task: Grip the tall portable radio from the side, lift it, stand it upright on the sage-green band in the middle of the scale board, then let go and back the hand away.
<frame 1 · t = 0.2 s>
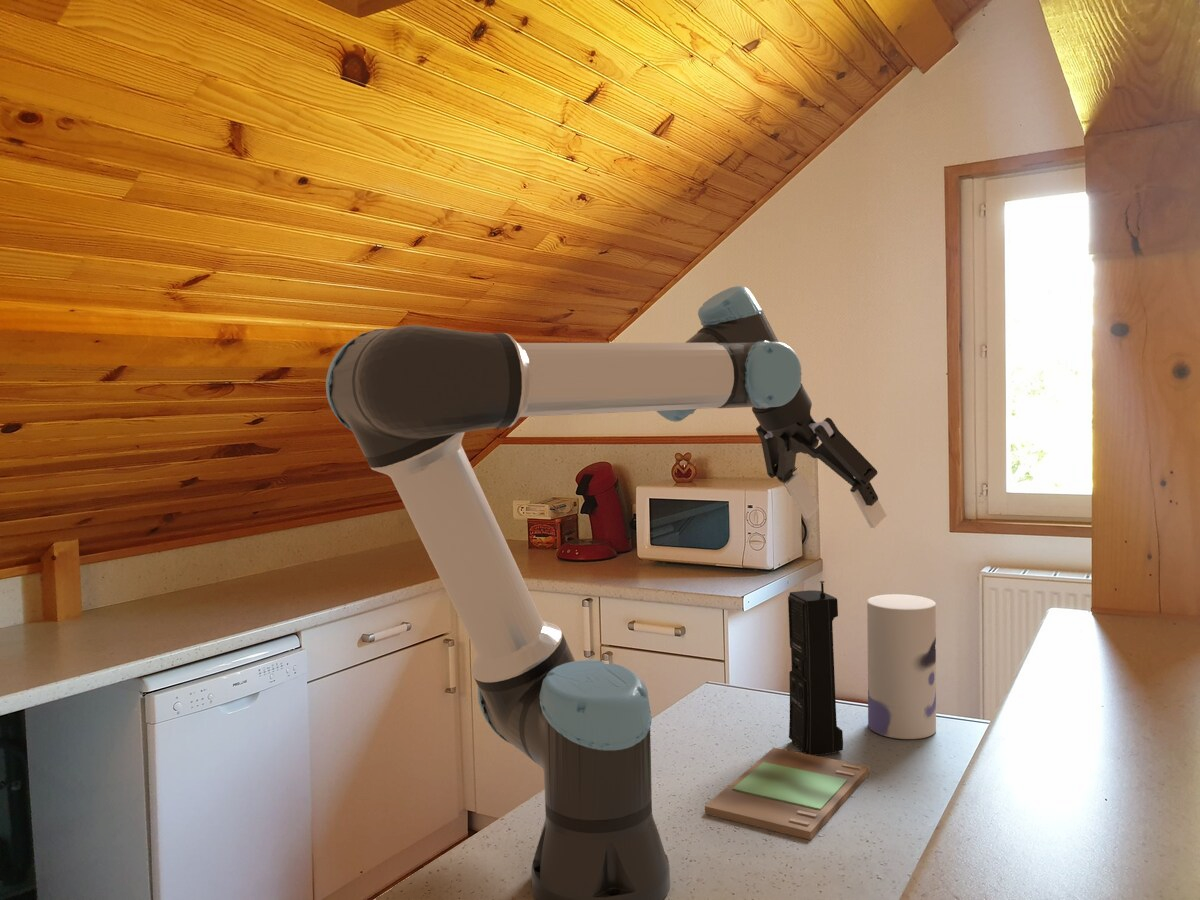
hand: (843, 517, 137), 35 cm above the countertop, tool tilted 35°, fingers open, 13 cm apart
container: (901, 729, 150), on the countertop
scale board: (790, 792, 128), on the countertop
portable radio: (814, 747, 144), on the countertop
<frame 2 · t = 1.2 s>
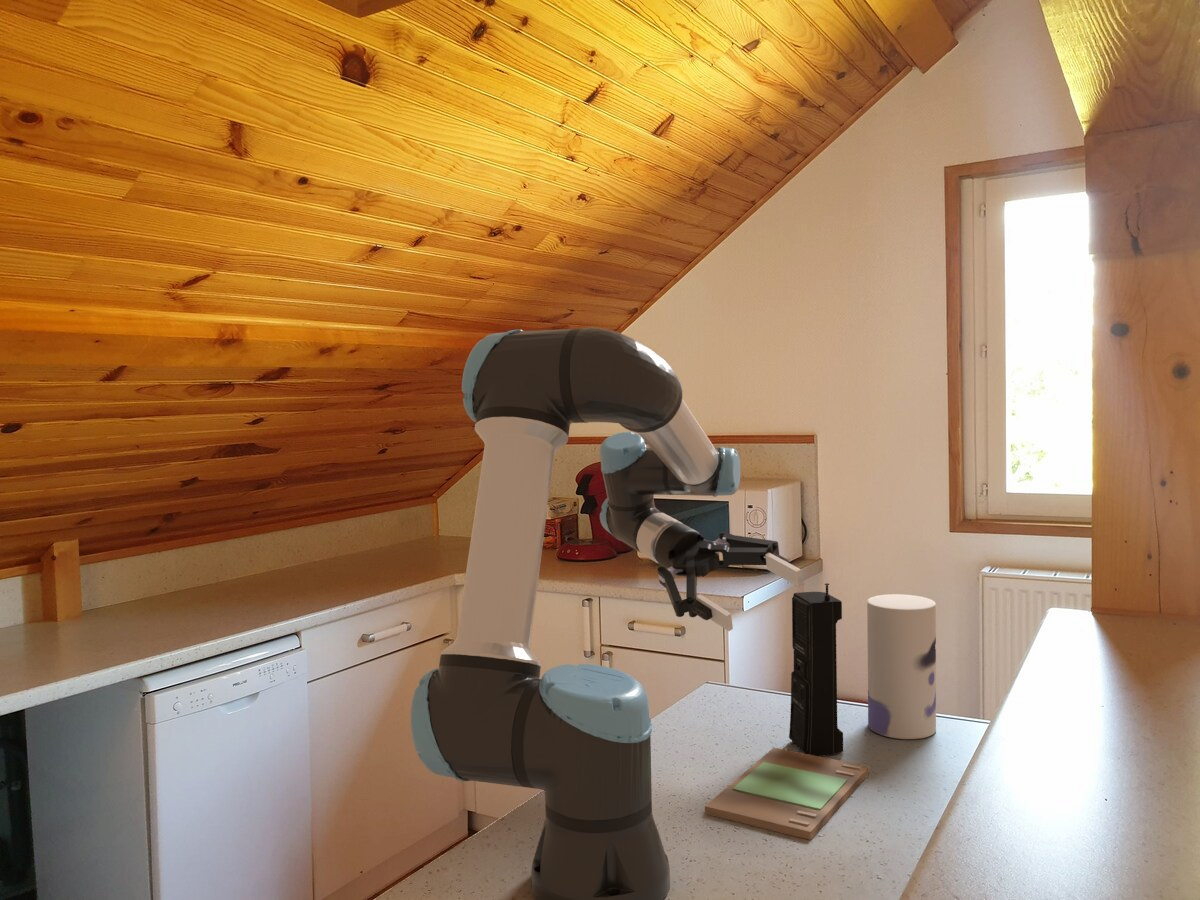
hand: (765, 599, 138), 23 cm above the countertop, tool horizontal, fingers open, 13 cm apart
nothing on the countertop moved.
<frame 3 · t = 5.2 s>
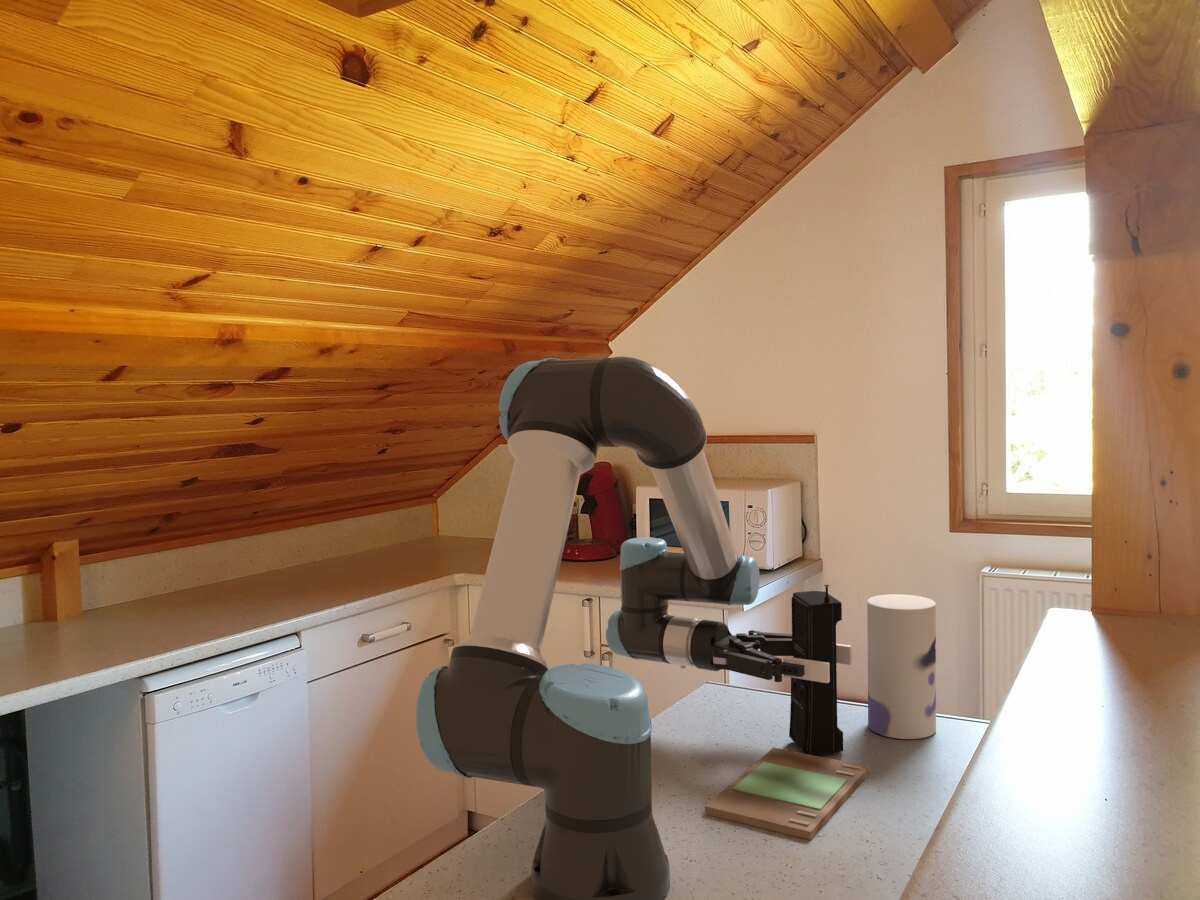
hand: (840, 663, 139), 14 cm above the countertop, tool horizontal, fingers open, 9 cm apart
portable radio: (814, 746, 144), on the countertop, touching gripper
everything else where it was.
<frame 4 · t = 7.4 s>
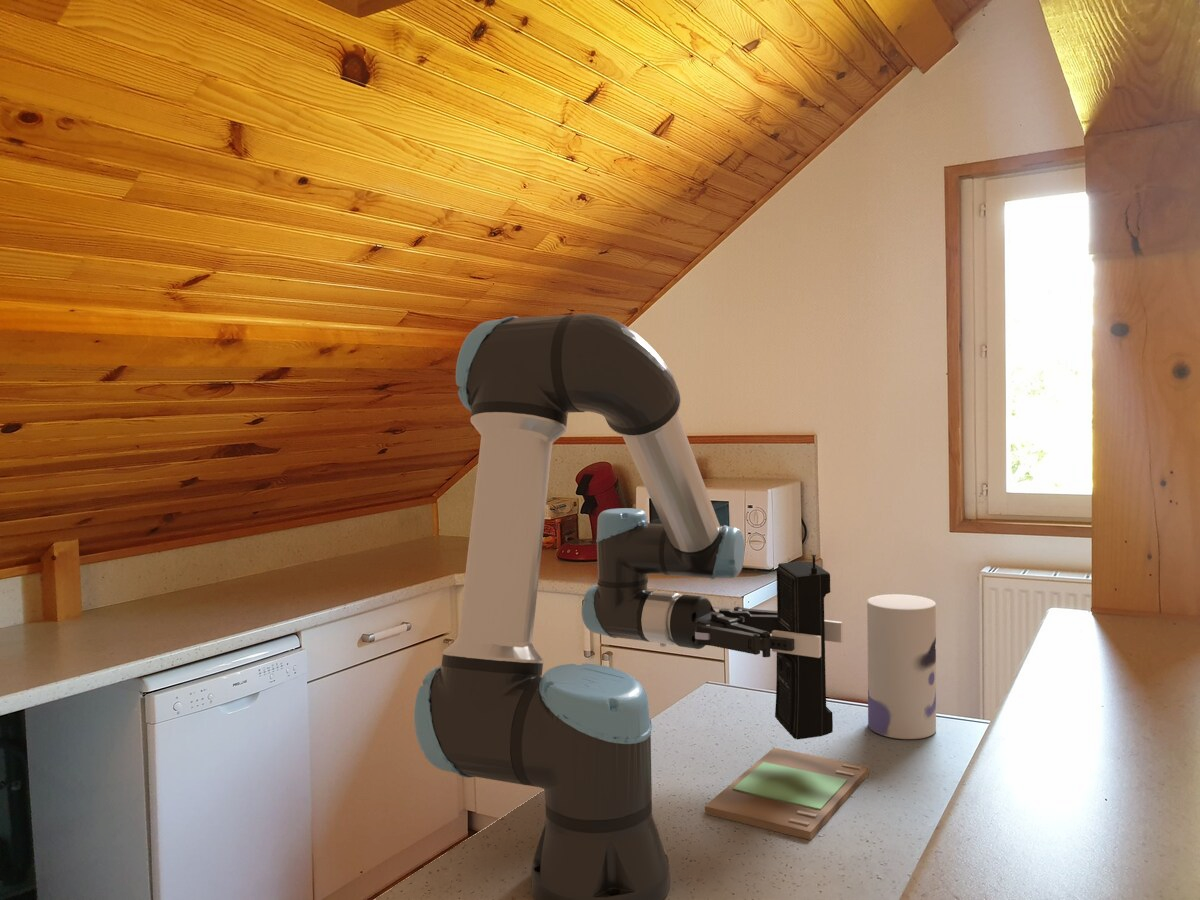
hand: (831, 639, 129), 20 cm above the countertop, tool horizontal, fingers closed on portable radio, 8 cm apart
portable radio: (801, 727, 134), point 6 cm above the countertop, touching gripper
everything else where it was.
when the fingers open (15 cm above the countertop, at t = 9.2 s): portable radio drops 1 cm, resting on scale board.
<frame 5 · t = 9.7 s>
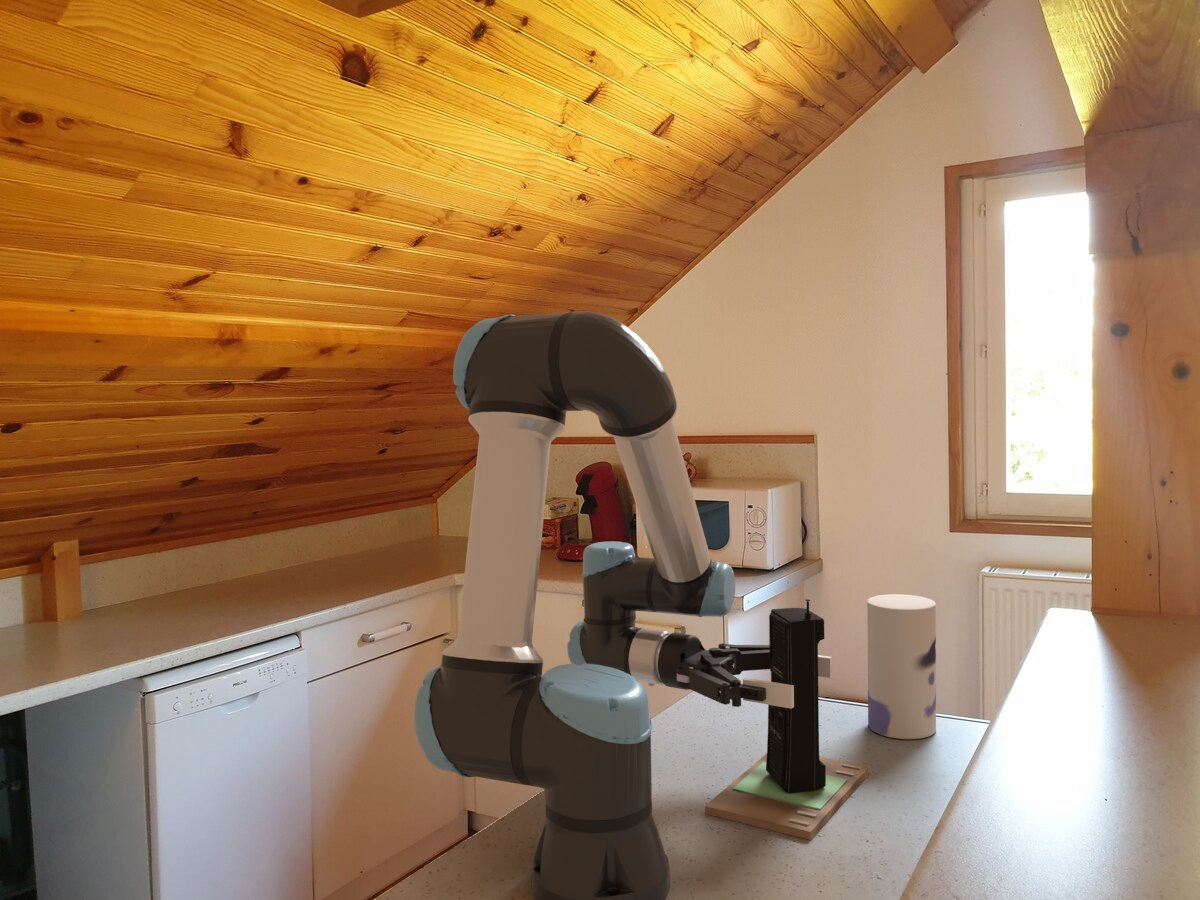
hand: (813, 681, 125), 15 cm above the countertop, tool horizontal, fingers open, 13 cm apart
portable radio: (793, 781, 129), point 1 cm above the countertop, touching scale board
everything else where it was.
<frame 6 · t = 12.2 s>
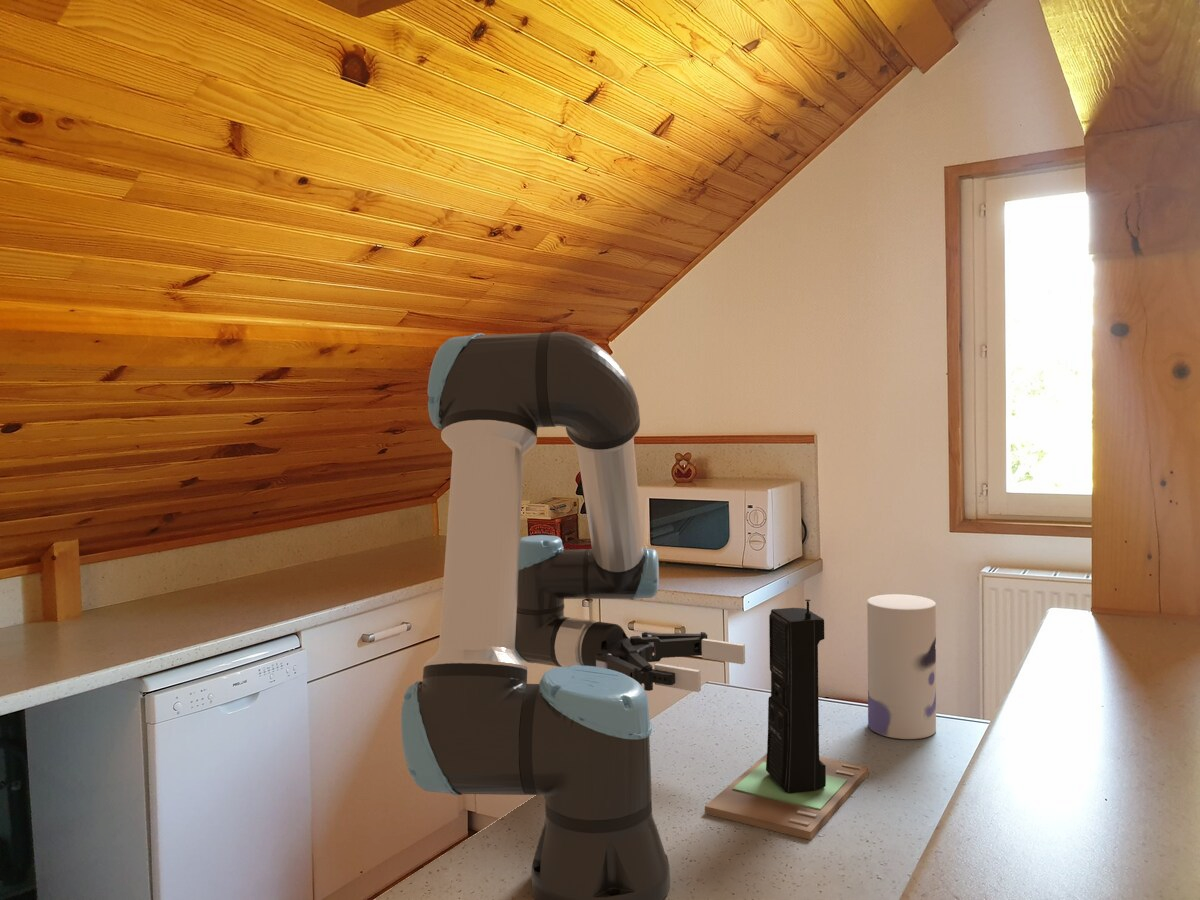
hand: (722, 667, 132), 16 cm above the countertop, tool horizontal, fingers open, 13 cm apart
nothing on the countertop moved.
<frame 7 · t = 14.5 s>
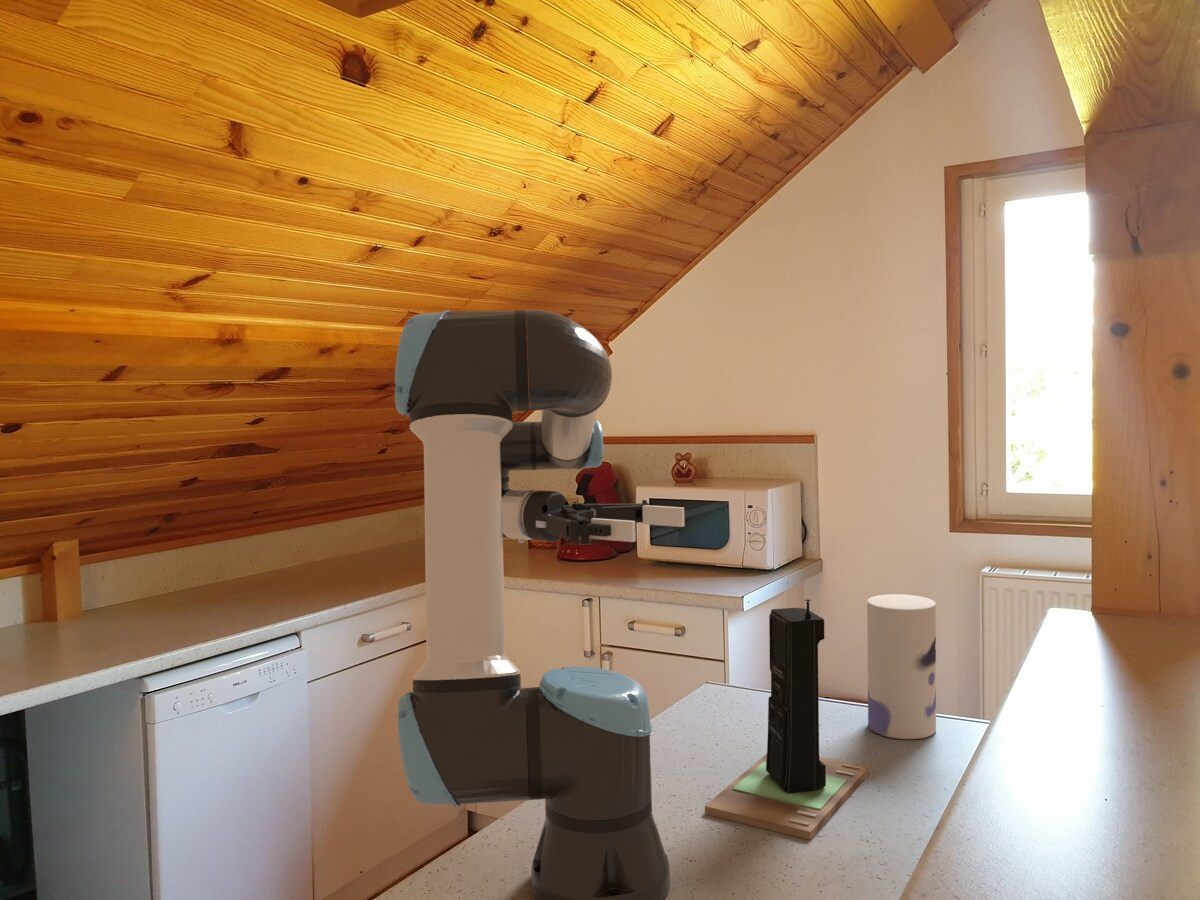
hand: (659, 524, 133), 35 cm above the countertop, tool horizontal, fingers open, 13 cm apart
nothing on the countertop moved.
at the end: portable radio inside the target area on the scale board (1.3 cm from its centre), point 1.0 cm above the scale board's base; portable radio tilted 0°; the gripper is holding nothing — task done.
